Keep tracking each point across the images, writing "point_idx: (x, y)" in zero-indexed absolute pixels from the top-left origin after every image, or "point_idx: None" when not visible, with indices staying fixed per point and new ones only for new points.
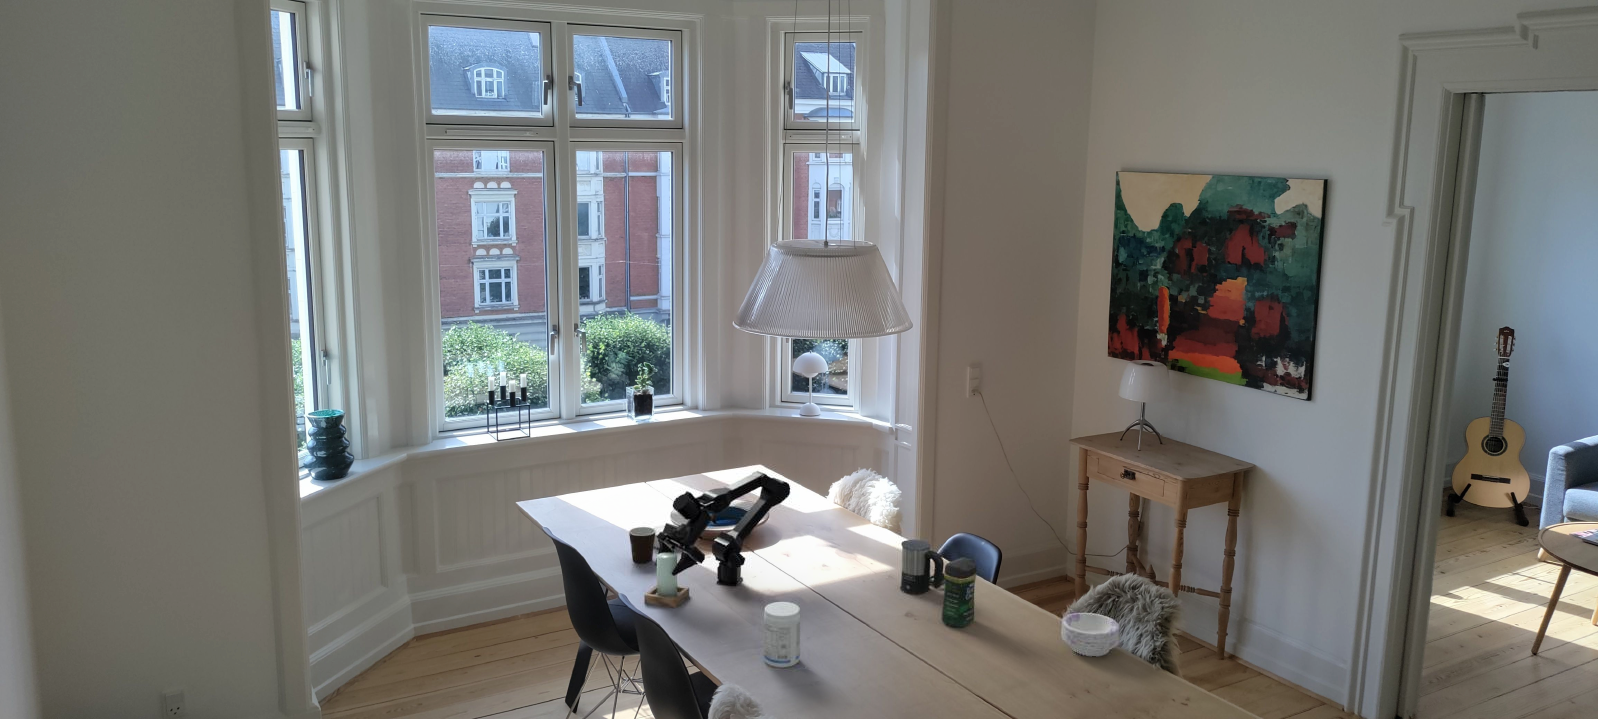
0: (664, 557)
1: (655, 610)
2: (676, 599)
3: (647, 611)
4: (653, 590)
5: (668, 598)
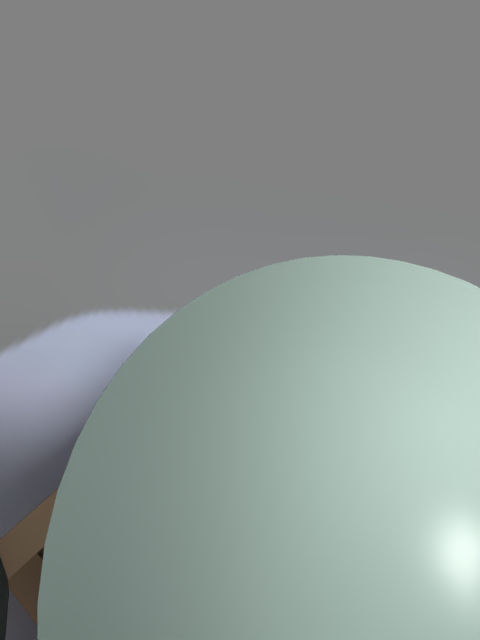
0: (306, 419)
1: (59, 386)
2: (11, 583)
3: (75, 331)
4: None
5: (51, 498)
